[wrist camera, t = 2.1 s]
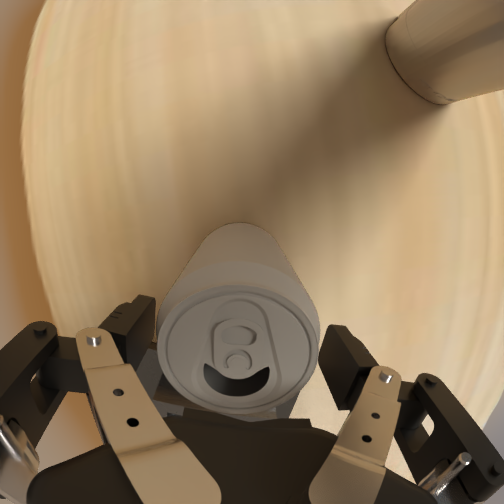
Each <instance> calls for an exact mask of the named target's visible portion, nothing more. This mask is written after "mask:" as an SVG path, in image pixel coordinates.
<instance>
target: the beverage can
mask: <svg viewBox="0 0 504 504" xmlns="http://www.w3.org/2000/svg"><path fill="white" fill-rule="evenodd" d="M156 335H157V355H158V360H159V363H160V366H161V369H162V371H163V373H164V375H165V376H166V378H167V379H168V381H169V382H170V384H171V385H172V386H173V387H174V388H175V389H176V390H177V391H178V392H179V393H180V394H182V395H183V396H184V397H186V398H187V399H188V400H190V401H192V402H194V403H196V404H198V405H200V406H202V407H205V408H207V409H210V410H213V411H217V412H222V413H230V414H249V413H256V412H261V411H265V410H268V409H271V408H274V407H276V406H278V405H280V404H282V403H284V402H286V401H288V400H289V399H291V398H292V397H293V396H295V395H296V394H297V393H298V392H299V391H300V390H301V389H302V388H303V387H304V386H305V385H306V384H307V382H308V381H309V380H310V378H311V376H312V374H313V373H314V370H315V367H316V365H317V361H318V354H319V340H320V322H319V317H318V313H317V311H316V308H315V306H314V304H313V302H312V300H311V298H310V296H309V295H308V293H307V291H306V290H305V288H304V286H303V285H302V283H301V281H300V280H299V278H298V276H297V275H296V273H295V271H294V270H293V268H292V266H291V265H290V263H289V261H288V260H287V258H286V256H285V255H284V253H283V251H282V250H281V248H280V247H279V245H278V243H277V242H276V240H275V239H274V238H273V237H272V236H271V235H270V234H269V233H268V232H266V231H265V230H263V229H262V228H260V227H257V226H255V225H252V224H247V223H232V224H227V225H224V226H222V227H219V228H218V229H216V230H214V231H213V232H211V233H210V234H209V235H208V236H207V237H206V238H205V239H204V241H203V242H202V243H201V245H200V246H199V248H198V249H197V251H196V252H195V254H194V255H193V256H192V258H191V259H190V261H189V262H188V264H187V265H186V267H185V268H184V270H183V271H182V273H181V274H180V276H179V277H178V279H177V280H176V282H175V283H174V285H173V286H172V288H171V289H170V291H169V292H168V294H167V295H166V297H165V299H164V300H163V302H162V304H161V307H160V309H159V313H158V317H157V323H156Z"/></svg>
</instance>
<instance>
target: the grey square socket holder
mask: <svg viewBox="0 0 504 504" xmlns="http://www.w3.org/2000/svg"><path fill="white" fill-rule="evenodd" d="M136 375H137V377H138V378H139V380H140V382H141V384H142V386H143V387H144V389H145V391H146V393H147V394H148V396H149V398H150V399H151V401H152V403H153V404H154V406H155V408H156V409H157V411H158V412H159V414H160V415H161V417H162V418H163V417H169V416H182V415H183V411H184V407H186V408H191V409H197V410H203V411H210V412H216V413H219V414H223V415H226V416H229V417H232V418H236V419H239V420H243V421H247V422H255V421H263V420H271V419H278V418H289V416H290V414H291V411H292V409H293V407H294V404H295V402H296V400H297V397H298V395H299V393H300V391H299V392H298V393H297V394H296V395H295V396H293V397H292V398H291V399H289V400H288V401H286V402H284V403H282V404H280V405H278V406H276V407H274V408H271V409H268V410H265V411H261V412H256V413H249V414H230V413H222V412H217V411H213V410H210V409H207V408H205V407H202V406H200V405H198V404H196V403H194V402H192V401H190V400H188V399H187V398H186V397H184V396H183V395H182V394H180V393H179V392H178V391H177V390H176V389H175V388H174V387H173V386H172V385H171V384H170V382H169V381H168V379H167V378H166V376H165V375H164V373H163V371H162V369H161V366H160V363H159V360H158V355H157V344H156V343H152V342H151V344H150V346H149V347H148V349H147V351H146V353H145V355H144V357H143V359H142V361H141V363H140V365H139V367H138V369H137V370H136Z"/></svg>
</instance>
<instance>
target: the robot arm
mask: <svg viewBox="0 0 504 504" xmlns="http://www.w3.org/2000/svg"><path fill="white" fill-rule="evenodd" d="M385 43H386V48H387V52H388V54H389V57H390V60H391V62H392V63H393V65H394V67H395V69H396V70H397V72H398V73H399V75H400V76H401V77H402V79H403V80H404V81H405V82H406V83H407V84H408V85H409V86H410V87H411V88H412V89H413V90H414V91H415V92H416V93H417V94H419V95H420V96H422V97H423V98H425V99H426V100H428V101H431V102H433V103H436V104H441V105H442V104H449V103H453V102H456V101H460V100H463V99H467V98H471V97H475V96H479V95H483V94H487V93H491V92H495V91H499V90H504V0H416V1H414V2H413V3H412V4H411V5H410V6H409V7H408V8H407V9H406V10H404V11H403V12H402V13H401V14H400V15H399V19H398V20H396V21H395V22H394V23H393V24H392V25H391V26H390V27H389V28H388V30H387V33H386V42H385ZM155 306H156V300H155V298H154V297H149V296H144V295H138V296H137V297H136V298H135V299H134V301H133V302H132V303H128V302H126V303H124V304H121V305H119V306H118V307H117V308H116V309H115V310H114V311H113V312H112V313H111V314H110V315H109V316H108V317H107V318H106V319H105V320H104V321H103V322H102V324H101V325H100V326H99V327H98V328H86V329H83V330H81V331H79V332H78V333H77V335H76V338H70V337H62V336H58V334H57V329H56V327H55V326H54V325H53V324H52V323H49V322H44V321H38V322H33V323H31V324H29V325H28V326H26V327H25V328H24V329H23V330H22V331H21V332H20V333H18V334H17V335H16V336H15V337H14V338H13V339H12V340H11V341H10V342H9V343H7V344H6V345H5V346H4V347H3V348H2V349H1V350H0V498H1V499H6V498H7V499H8V500H10V501H11V502H13V503H14V504H482V503H484V502H485V501H486V500H487V499H488V498H489V497H491V496H492V495H493V494H494V493H495V492H496V491H497V490H499V489H500V488H501V487H502V486H503V485H504V460H503V459H502V457H501V456H500V454H499V453H498V451H497V450H496V449H495V447H494V446H493V445H492V443H491V442H490V441H489V439H488V438H487V437H486V435H485V434H484V433H483V431H482V430H481V429H480V427H479V426H478V425H477V424H476V422H475V421H474V420H473V418H472V417H471V416H470V415H469V413H468V412H467V411H466V410H465V408H464V407H463V406H462V405H461V403H460V402H459V401H458V400H457V399H456V397H455V396H454V395H453V394H452V393H451V391H450V390H449V389H448V388H447V387H446V385H445V384H444V383H443V382H442V381H441V380H440V379H439V378H438V377H436V376H434V375H432V374H428V373H422V374H419V375H418V377H417V379H416V381H415V382H414V383H412V382H405V381H401V380H402V379H401V376H400V374H399V373H398V372H396V371H395V370H393V369H392V368H389V367H386V366H379V364H378V363H377V362H376V360H375V359H374V358H373V356H372V355H371V354H369V351H368V350H367V349H366V347H365V346H364V344H363V343H362V342H361V341H360V340H358V339H357V338H356V337H354V336H353V335H352V334H351V333H350V331H349V330H348V329H347V327H346V326H343V325H329V326H328V328H327V330H326V334H325V337H324V340H323V343H322V346H321V348H320V351H319V356H318V363H319V366H320V369H321V371H322V373H323V375H324V378H325V380H326V382H327V385H328V387H329V389H330V392H331V394H332V396H333V399H334V401H335V403H336V406H337V408H338V410H350V413H349V415H348V416H347V418H346V420H345V422H344V424H343V426H342V427H341V429H340V431H339V433H338V435H337V436H336V435H334V434H332V433H330V432H328V431H325V430H322V429H318V428H314V427H312V425H311V422H310V419H292V418H278V419H271V420H263V421H255V422H247V421H243V420H239V419H236V418H232V417H229V416H226V415H223V414H219V413H216V412H210V411H203V410H197V409H191V408H186V407H184V411H183V415H182V416H169V417H163V418H162V417H161V415H160V414H159V412H158V411H157V409H156V408H155V406H154V404H153V403H152V401H151V399H150V398H149V396H148V394H147V393H146V391H145V389H144V387H143V386H142V384H141V382H140V380H139V378H138V377H137V375H136V373H135V372H136V370H137V369H138V367H139V365H140V363H141V361H142V359H143V357H144V355H145V353H146V351H147V349H148V347H149V346H150V344H151V342H152V339H153V336H154V329H155ZM35 373H36V376H35V378H34V379H33V380H32V381H31V379H32V377H33V375H34V374H35ZM30 382H31V383H30ZM68 391H70V392H79V393H86V395H87V398H88V402H89V404H90V408H91V411H92V413H93V416H94V419H95V422H96V425H97V428H98V430H99V433H100V436H101V439H102V441H103V444H104V445H102V446H99V447H97V448H95V449H93V450H90V451H88V452H86V453H84V454H81V455H79V456H76V457H74V458H72V459H69V460H67V461H64V462H62V463H59V464H56V465H54V466H51V467H48V468H46V469H44V470H42V471H41V472H39V473H38V467H39V456H38V454H37V452H36V451H35V448H36V446H37V444H38V442H39V440H40V439H41V437H42V435H43V433H44V431H45V429H46V428H47V426H48V424H49V422H50V420H51V419H52V417H53V415H54V414H55V412H56V410H57V409H58V407H59V405H60V403H61V402H62V400H63V398H64V397H65V395H66V393H67V392H68ZM427 414H429V416H430V417H431V419H432V420H433V422H434V430H433V432H432V434H431V435H430V437H429V435H428V434H427V432H426V430H425V429H424V427H423V425H422V424H421V423H422V422H423V420H424V419H425V417H426V416H427ZM393 436H394V438H395V440H396V442H397V444H398V446H399V448H400V450H401V452H402V454H403V456H404V458H405V460H406V463H407V465H408V467H409V469H410V471H411V473H412V476H413V478H414V480H415V482H416V484H417V485H416V484H414V483H412V482H410V481H408V480H407V479H405V478H403V477H401V476H400V475H398V474H396V473H394V472H393V471H391V470H389V469H388V468H386V467H385V461H386V458H387V455H388V452H389V449H390V445H391V442H392V439H393Z"/></svg>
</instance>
